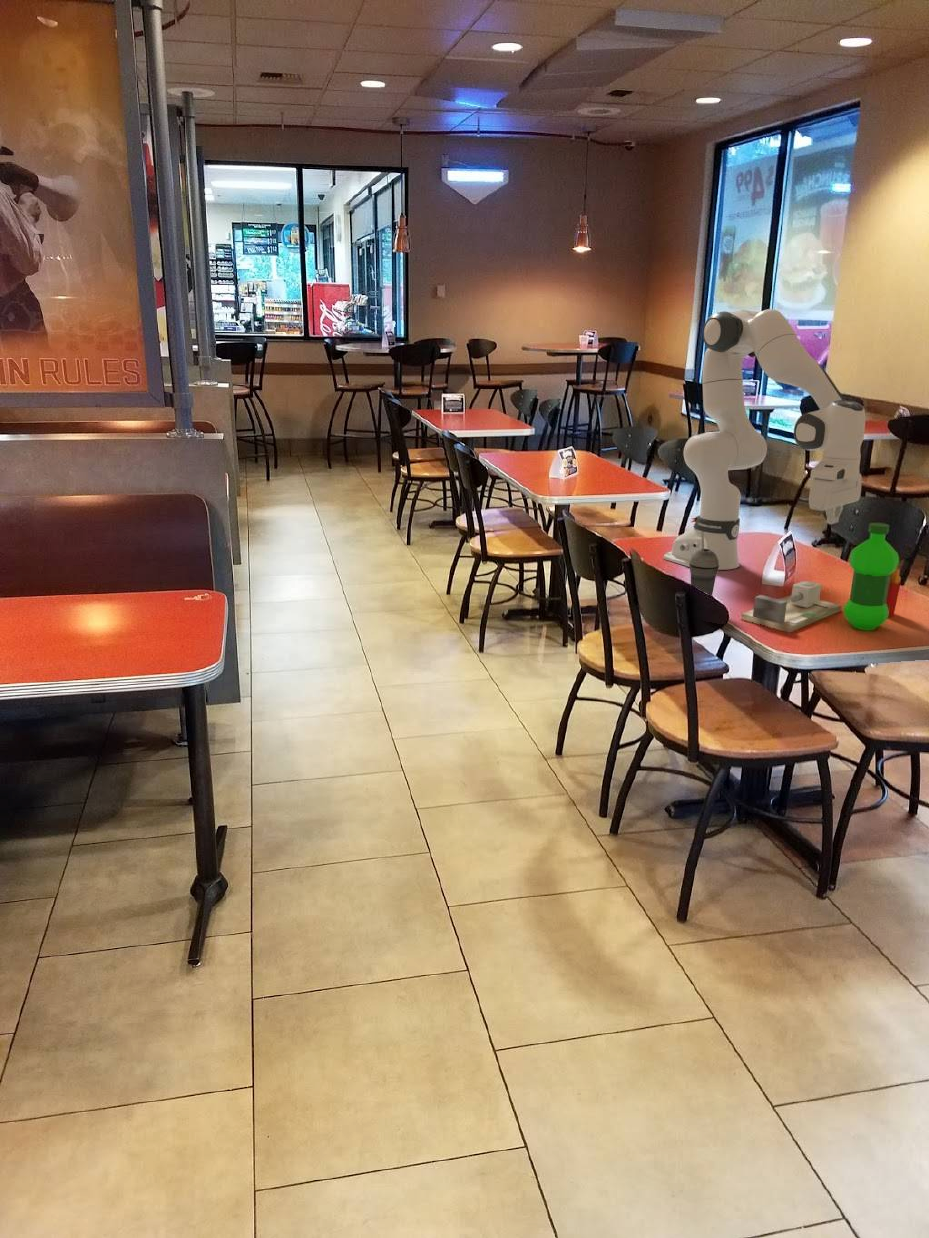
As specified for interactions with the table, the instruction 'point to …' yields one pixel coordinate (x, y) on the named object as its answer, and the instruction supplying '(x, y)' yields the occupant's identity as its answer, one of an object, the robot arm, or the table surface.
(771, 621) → the frame
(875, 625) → the plastic bottle
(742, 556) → the table surface
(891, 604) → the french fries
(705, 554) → the beverage cup
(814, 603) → the block
